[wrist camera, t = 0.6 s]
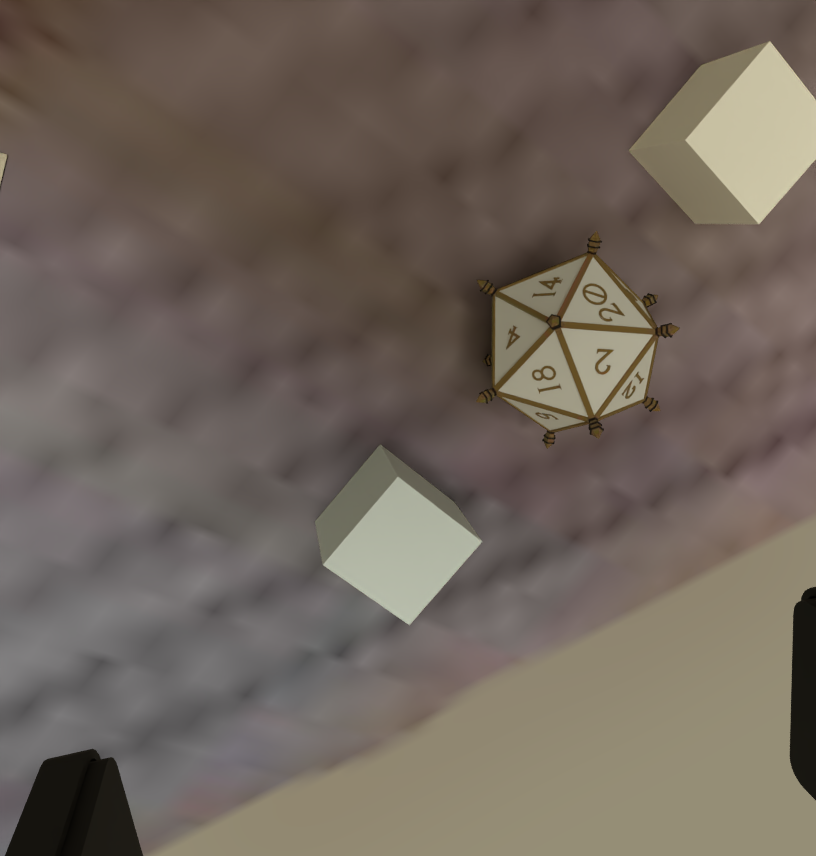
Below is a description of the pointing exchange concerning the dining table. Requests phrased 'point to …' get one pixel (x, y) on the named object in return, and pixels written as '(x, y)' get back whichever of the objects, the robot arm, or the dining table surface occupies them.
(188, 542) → the dining table surface
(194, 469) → the dining table surface
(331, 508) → the grey-green block
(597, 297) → the game die
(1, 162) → the condiment
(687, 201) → the off-white block
